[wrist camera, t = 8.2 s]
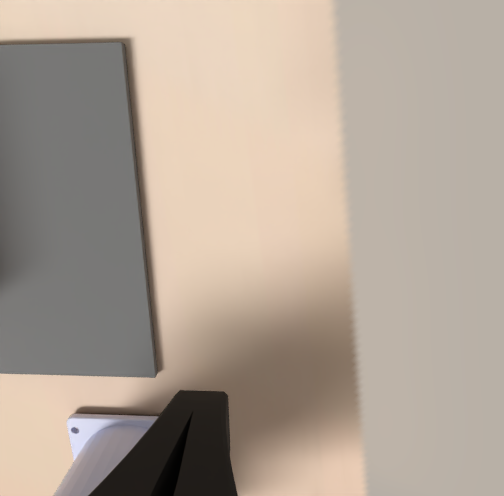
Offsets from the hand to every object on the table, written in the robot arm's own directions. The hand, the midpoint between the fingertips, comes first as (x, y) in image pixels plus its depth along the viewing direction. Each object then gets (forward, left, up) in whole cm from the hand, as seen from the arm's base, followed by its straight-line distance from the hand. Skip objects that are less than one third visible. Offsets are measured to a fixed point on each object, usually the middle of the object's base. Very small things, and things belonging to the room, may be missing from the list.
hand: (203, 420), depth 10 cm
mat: (+3, +17, -10) cm, 20 cm away
